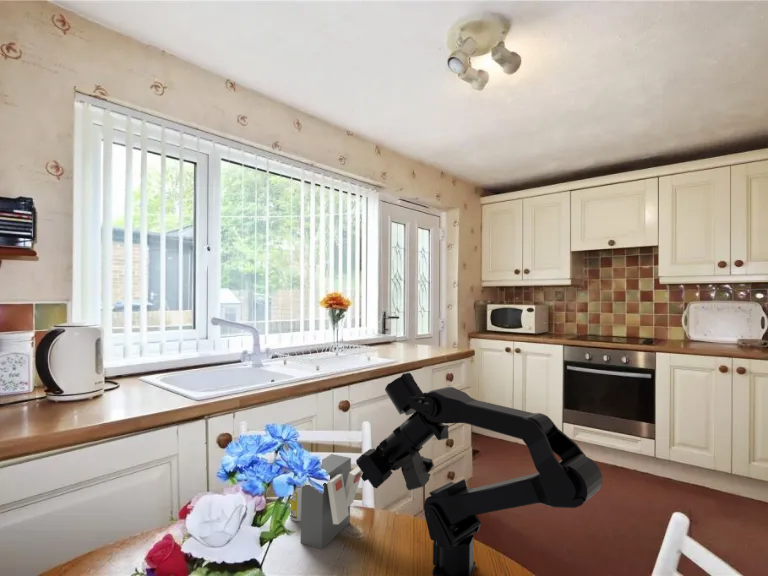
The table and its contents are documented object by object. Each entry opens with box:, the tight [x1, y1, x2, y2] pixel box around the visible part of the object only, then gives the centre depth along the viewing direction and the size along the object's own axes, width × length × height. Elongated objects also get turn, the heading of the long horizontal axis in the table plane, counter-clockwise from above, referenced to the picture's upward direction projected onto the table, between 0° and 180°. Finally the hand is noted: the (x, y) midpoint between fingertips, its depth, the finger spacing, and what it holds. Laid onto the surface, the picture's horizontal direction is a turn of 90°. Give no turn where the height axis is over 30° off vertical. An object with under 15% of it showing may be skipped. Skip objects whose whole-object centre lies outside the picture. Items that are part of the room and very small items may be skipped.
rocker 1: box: [327, 474, 349, 524], centre depth 82 cm, size 2×4×8 cm, turn 155°
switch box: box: [300, 453, 352, 550], centre depth 87 cm, size 5×11×14 cm, turn 155°
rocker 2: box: [345, 465, 363, 507], centre depth 87 cm, size 2×4×8 cm, turn 155°
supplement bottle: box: [289, 487, 302, 522], centre depth 93 cm, size 5×5×10 cm
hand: (363, 478), depth 86 cm, fingers closed
